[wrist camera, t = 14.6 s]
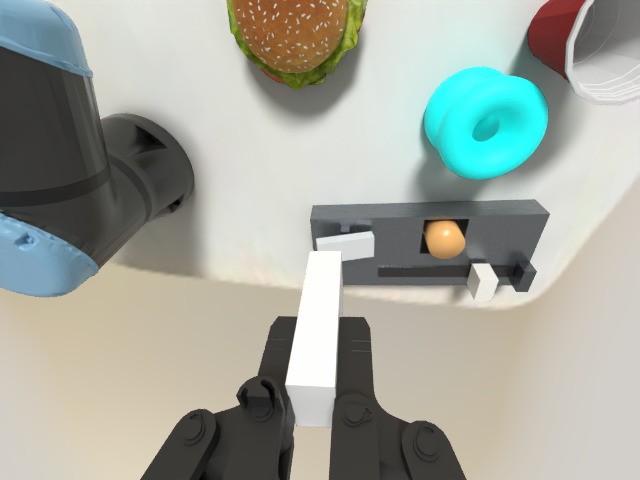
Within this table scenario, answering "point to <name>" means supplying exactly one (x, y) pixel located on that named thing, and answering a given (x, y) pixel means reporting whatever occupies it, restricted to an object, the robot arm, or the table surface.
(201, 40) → the table surface
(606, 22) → the plastic cup
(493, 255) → the console panel
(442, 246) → the orange button
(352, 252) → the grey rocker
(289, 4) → the food
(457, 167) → the donuts
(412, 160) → the table surface
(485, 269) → the slider knob
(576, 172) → the table surface
